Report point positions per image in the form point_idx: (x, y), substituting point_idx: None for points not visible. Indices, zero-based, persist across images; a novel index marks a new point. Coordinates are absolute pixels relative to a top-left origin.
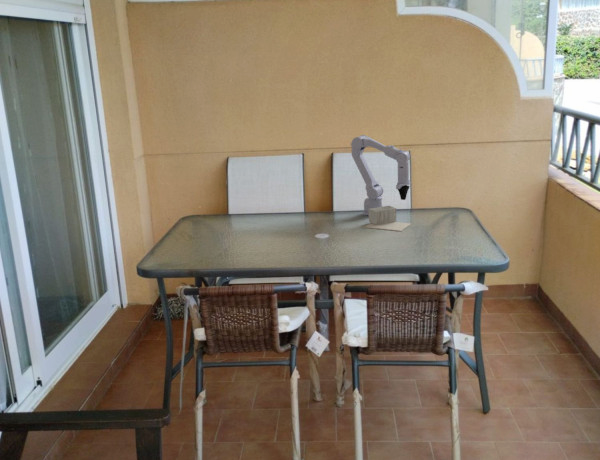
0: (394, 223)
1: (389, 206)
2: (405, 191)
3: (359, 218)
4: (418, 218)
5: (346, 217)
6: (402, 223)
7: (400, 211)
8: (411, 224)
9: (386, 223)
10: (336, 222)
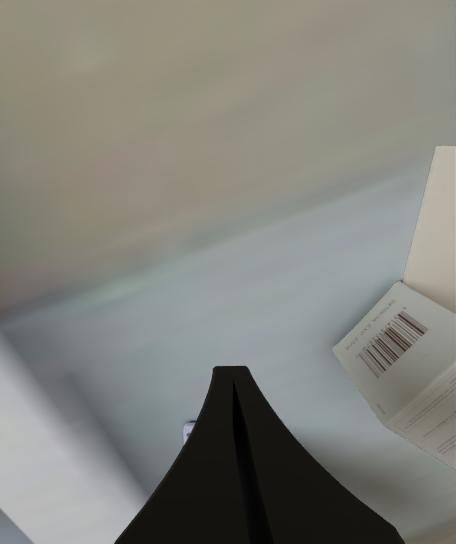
0: (445, 272)
1: (425, 410)
2: (326, 471)
3: None
4: (239, 159)
5: None
6: (441, 218)
7: (91, 360)
8: (442, 146)
9: None
10: (427, 523)
